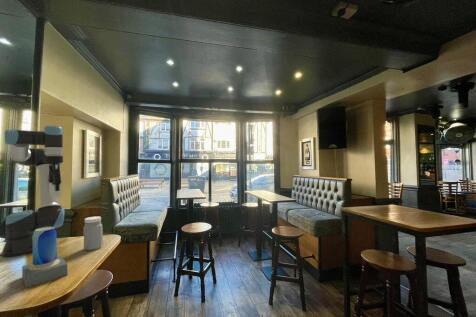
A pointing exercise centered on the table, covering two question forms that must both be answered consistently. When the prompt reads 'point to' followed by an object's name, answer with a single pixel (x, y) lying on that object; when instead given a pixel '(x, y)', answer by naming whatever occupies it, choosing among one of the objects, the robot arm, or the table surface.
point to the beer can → (44, 246)
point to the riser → (43, 272)
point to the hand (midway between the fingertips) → (54, 196)
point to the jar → (93, 233)
